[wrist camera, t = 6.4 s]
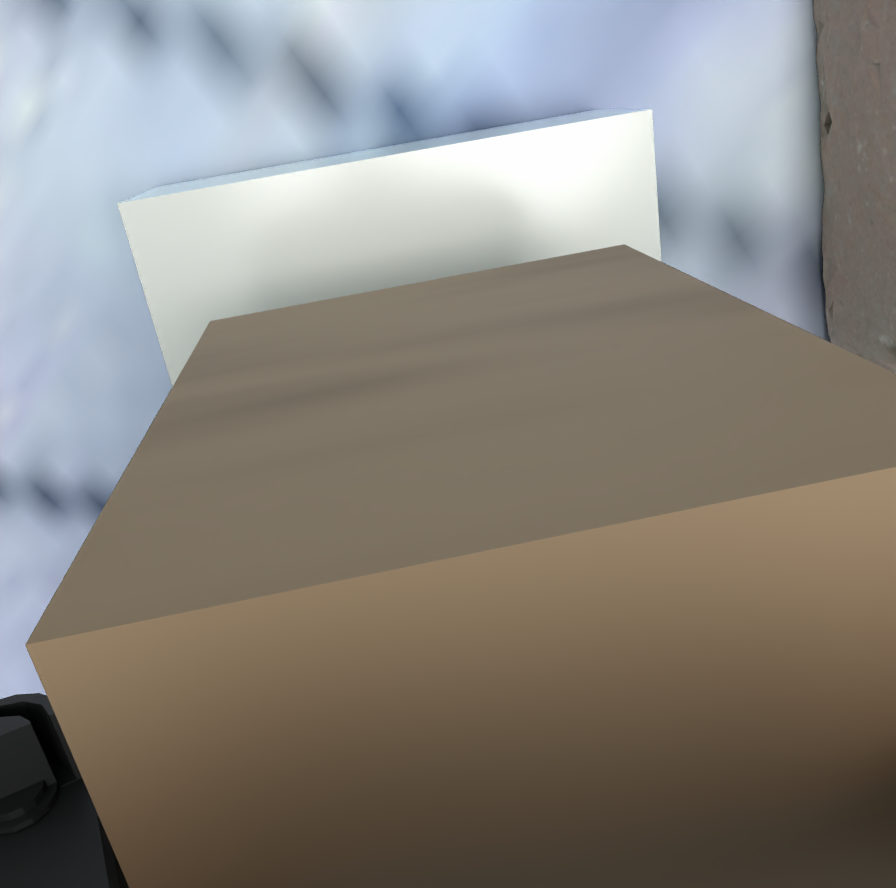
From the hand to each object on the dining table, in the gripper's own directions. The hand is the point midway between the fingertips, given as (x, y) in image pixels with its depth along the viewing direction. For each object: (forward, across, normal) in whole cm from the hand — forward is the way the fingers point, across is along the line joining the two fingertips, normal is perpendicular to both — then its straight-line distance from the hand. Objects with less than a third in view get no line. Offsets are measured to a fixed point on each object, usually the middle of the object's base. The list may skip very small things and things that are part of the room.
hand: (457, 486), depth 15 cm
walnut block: (+1, 0, 0) cm, 1 cm away
